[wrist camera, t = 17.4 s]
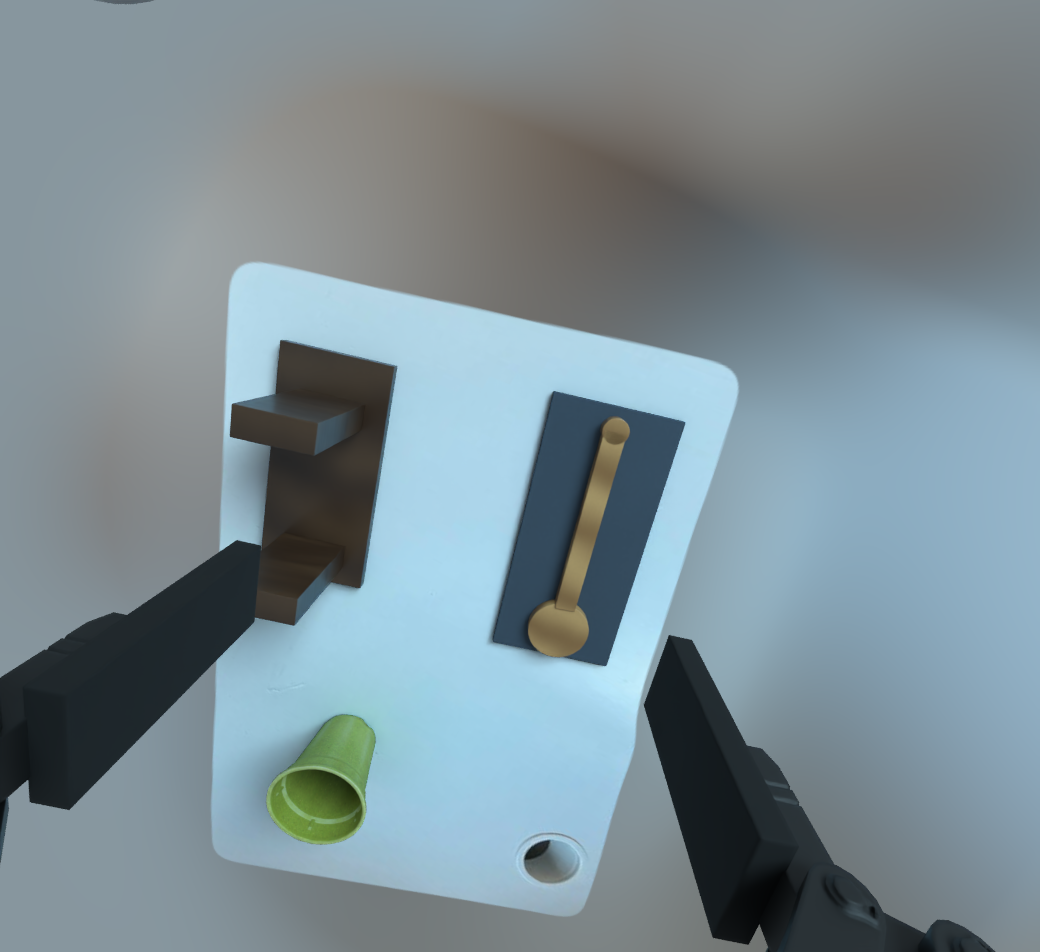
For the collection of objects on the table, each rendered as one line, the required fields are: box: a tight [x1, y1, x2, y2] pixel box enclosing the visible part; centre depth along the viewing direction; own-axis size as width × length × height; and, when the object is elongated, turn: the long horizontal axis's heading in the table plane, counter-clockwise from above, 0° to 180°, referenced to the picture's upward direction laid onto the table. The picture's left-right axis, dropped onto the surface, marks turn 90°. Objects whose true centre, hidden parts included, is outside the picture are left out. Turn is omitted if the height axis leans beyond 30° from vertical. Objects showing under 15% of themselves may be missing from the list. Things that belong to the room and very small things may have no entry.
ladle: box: [528, 416, 630, 657], centre depth 47 cm, size 25×6×1 cm, turn 167°
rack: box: [230, 340, 397, 626], centre depth 41 cm, size 22×10×11 cm, turn 167°
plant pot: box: [266, 715, 375, 845], centre depth 51 cm, size 9×9×9 cm
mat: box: [493, 391, 685, 666], centre depth 47 cm, size 26×12×1 cm, turn 167°
